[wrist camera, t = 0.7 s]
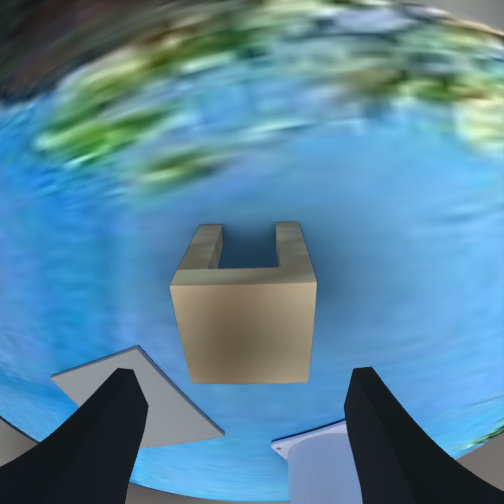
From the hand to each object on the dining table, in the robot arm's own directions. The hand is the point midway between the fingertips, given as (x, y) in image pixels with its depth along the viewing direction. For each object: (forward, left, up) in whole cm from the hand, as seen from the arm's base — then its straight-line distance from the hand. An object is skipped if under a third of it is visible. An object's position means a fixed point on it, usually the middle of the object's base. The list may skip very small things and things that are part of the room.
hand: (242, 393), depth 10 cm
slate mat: (-8, +16, -9) cm, 20 cm away
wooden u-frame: (0, 0, -9) cm, 9 cm away
